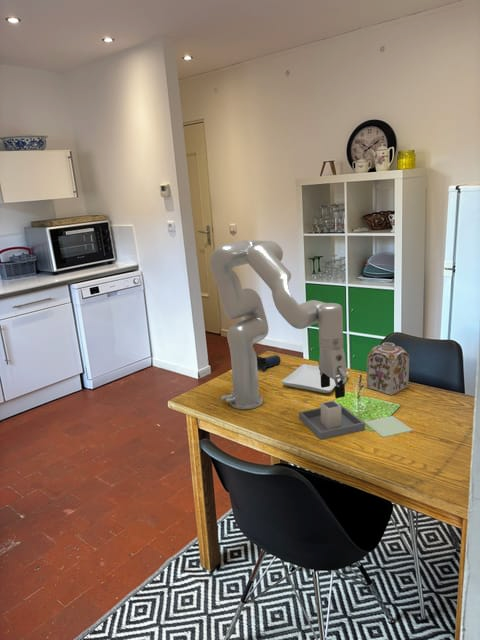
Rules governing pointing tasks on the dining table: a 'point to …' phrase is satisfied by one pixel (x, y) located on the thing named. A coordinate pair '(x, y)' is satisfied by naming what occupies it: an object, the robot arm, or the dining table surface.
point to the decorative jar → (387, 369)
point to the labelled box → (330, 414)
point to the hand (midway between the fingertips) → (332, 391)
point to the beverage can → (267, 362)
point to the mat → (388, 426)
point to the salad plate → (308, 379)
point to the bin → (348, 425)
